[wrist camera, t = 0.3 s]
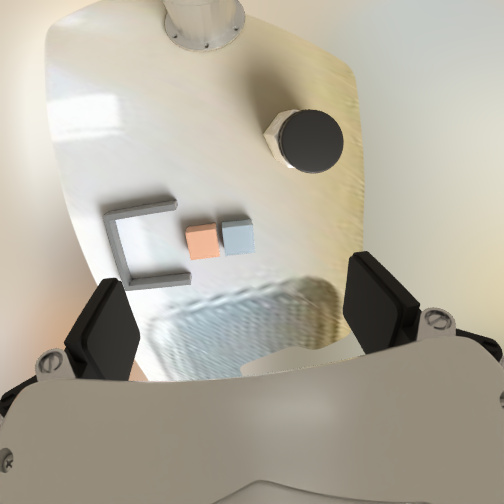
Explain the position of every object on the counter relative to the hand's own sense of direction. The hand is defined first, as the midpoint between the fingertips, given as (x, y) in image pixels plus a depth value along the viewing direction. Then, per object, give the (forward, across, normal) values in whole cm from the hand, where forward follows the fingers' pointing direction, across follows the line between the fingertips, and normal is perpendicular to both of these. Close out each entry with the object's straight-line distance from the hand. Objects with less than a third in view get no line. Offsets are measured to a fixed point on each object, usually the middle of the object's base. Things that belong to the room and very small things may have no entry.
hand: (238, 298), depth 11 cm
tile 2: (+36, +5, +11) cm, 38 cm away
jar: (+36, -11, -5) cm, 38 cm away
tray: (+36, +14, +12) cm, 40 cm away
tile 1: (+36, -1, +11) cm, 38 cm away
